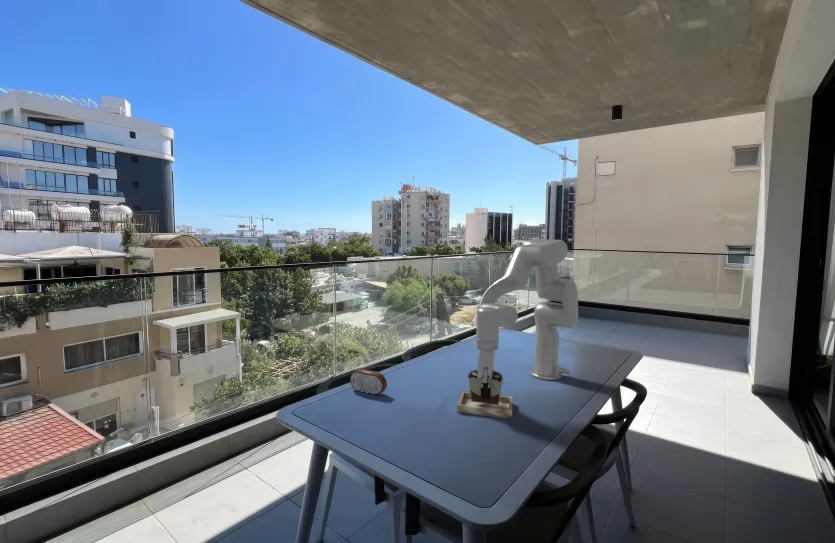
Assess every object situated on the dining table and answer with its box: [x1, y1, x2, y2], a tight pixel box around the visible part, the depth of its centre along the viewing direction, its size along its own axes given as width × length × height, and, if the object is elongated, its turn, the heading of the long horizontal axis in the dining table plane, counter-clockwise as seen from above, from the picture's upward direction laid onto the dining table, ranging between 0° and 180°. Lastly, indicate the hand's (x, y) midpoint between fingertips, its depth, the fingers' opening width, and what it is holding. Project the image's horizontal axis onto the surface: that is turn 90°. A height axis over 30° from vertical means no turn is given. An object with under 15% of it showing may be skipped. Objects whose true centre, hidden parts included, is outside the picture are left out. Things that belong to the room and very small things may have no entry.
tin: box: [349, 368, 388, 396], centre depth 146 cm, size 15×3×8 cm, turn 65°
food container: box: [466, 368, 505, 405], centre depth 135 cm, size 12×6×10 cm, turn 71°
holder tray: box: [456, 391, 513, 420], centre depth 134 cm, size 18×12×2 cm, turn 76°
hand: (486, 394), depth 134 cm, fingers closed on food container, 5 cm apart
